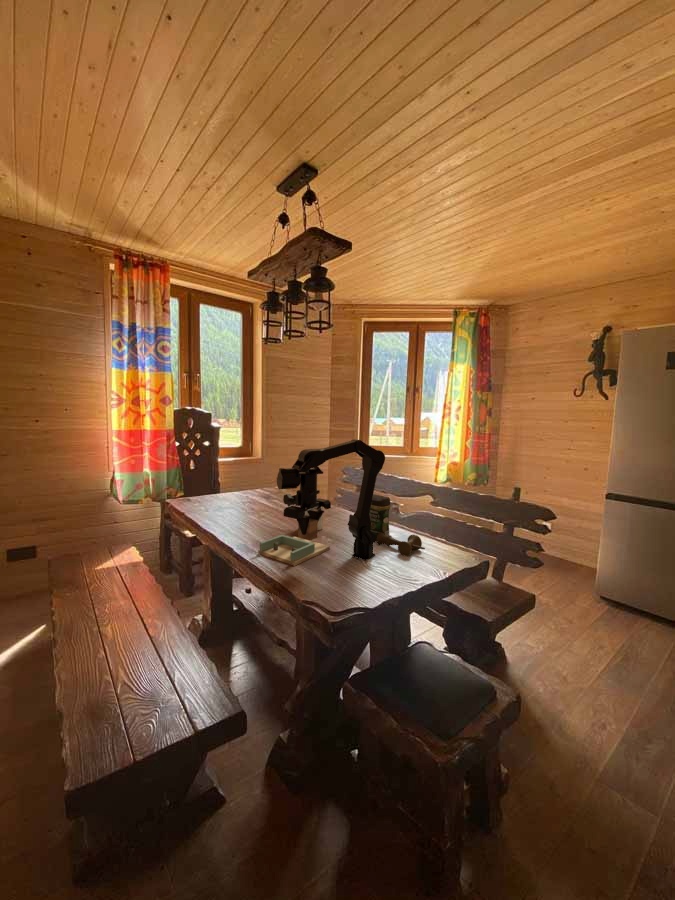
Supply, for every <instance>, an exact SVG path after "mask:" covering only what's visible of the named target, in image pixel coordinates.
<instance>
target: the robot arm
mask: <svg viewBox="0 0 675 900" xmlns="http://www.w3.org/2000/svg"><path fill="white" fill-rule="evenodd" d="M352 453H355V454H356V455H358V456H359V457H360V458H361V466H362V469H363V475H362V481H361V485H360V490H359V491H360V492H359V495H358V500H357V501H358V502H357V506H356V511H355V512H354V513H353V514H349V516H348V517H349V518H348V522H347V527H348V530H349V531H348V532H350V533H351V535H352V537H353V538H354V542H353V550H352V551H353V552H352V553H353V554H351V557H352V558H353V557H354V558H356V559H360V560H364V561H369V560H370V559H372V558H374V557H375V556H376V553H374V543H377V541H376V539H377V536H376V535H375V534H374V533H373V532H372V531H371V519H370V508H371V503H372V498H373V494H374V492H375V487H376V482H377V477H378V475H379V473H380V472H381V471H382V469H383V467H384V464H385V461H386V455H385V453H384V451H382V450H380V449H376V448H375V447H372V446H370V445H369V444H366V443H365V442H364V441H363V440H361V439H356V438H354V439H351V440H349V441H345V442H342V443H338V444H335V445H331V446H326V447H324V448H322V447H321V448H306V449H302V450H301V451H300V452H299V453H298V456H297V459H296V461H295V462H294V463H293V465H292V466H291V467H289V468H287V467H286V468H284V467H281V468H279V469H278V472H277V477H276V486H277V488H278V490H279V491H281V490H291V489H292V490H293V489H297V488H298V487H299V489H297V490H296V494H293V495H292V494H291V493H287V494H284V495H283V498H282V500H283V504H284V505H287V506H286V507H285V508H284V509H283V517H284V518H285V517H286V518H291V519H293V520H294V519H295V520H296V521H297V523H298V524H299V526H300V529H301V532H302V534H303V535H305V534H306V531H307V527H308V523H309V519H315V520H318V521H319V519H320V517H321V516H322V514H323V515H324V513H325V510H329V509H331V508H332V507H331V506H332V505H331V504H332V503H331V501H330V500H329V499H324V498H320V497H318V494H320V493H321V491H320V489H318V475H322V474H324V471H323V470H322V469H321V468H320V467H319V466H321V465H323V464H325V462H327V461H329V460H332V459H336V458H339V457H343V456H346V455H350V454H352ZM321 507H323V508H324V509H323V510H321ZM305 508H306V509H305ZM307 512H308V514H309V516H308V515H307Z"/></svg>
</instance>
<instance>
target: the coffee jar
mask: <svg viewBox="0 0 675 900" xmlns="http://www.w3.org/2000/svg"><path fill="white" fill-rule="evenodd" d="M390 508H391V499H390V497H388V496H385V495H379V494H374V493H373V498H372V503H371V508H370V519H371V531H372V532H373V533H374V534H375V535H376V536H378V534H379V533H383V534H384V535H386V536H389V535H390V517H389V516H390ZM376 542H377V539H376Z"/></svg>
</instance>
